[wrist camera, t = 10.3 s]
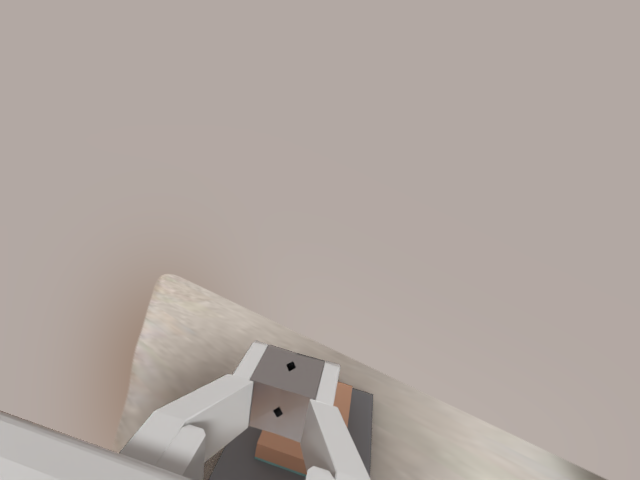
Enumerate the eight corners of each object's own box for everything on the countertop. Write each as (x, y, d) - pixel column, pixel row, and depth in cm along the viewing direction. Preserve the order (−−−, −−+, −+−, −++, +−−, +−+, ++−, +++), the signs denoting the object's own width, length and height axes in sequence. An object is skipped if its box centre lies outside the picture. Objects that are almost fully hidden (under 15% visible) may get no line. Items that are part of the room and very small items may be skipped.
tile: (336, 487, 27) (348, 398, 37) (341, 473, 26) (352, 386, 36) (254, 458, 28) (286, 378, 37) (256, 443, 27) (288, 366, 37)
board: (370, 403, 38) (373, 394, 38) (360, 607, 22) (365, 597, 21) (267, 370, 40) (268, 361, 40) (184, 537, 23) (184, 525, 23)
